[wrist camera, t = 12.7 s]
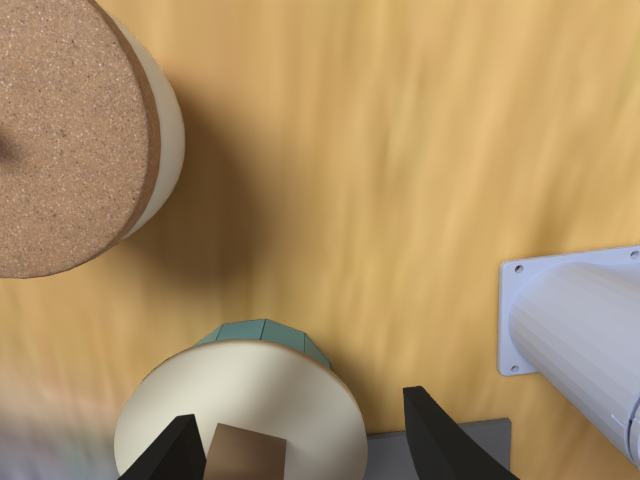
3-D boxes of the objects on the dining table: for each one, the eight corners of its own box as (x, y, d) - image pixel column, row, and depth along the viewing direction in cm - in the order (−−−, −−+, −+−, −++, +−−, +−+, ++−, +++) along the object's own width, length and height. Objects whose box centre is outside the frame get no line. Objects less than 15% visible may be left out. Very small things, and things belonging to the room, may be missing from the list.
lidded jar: (192, 250, 20) (98, 335, 11) (1, 200, 19) (-277, 249, 10) (232, 59, 18) (151, -34, 8) (13, -12, 16) (-350, -207, 7)
